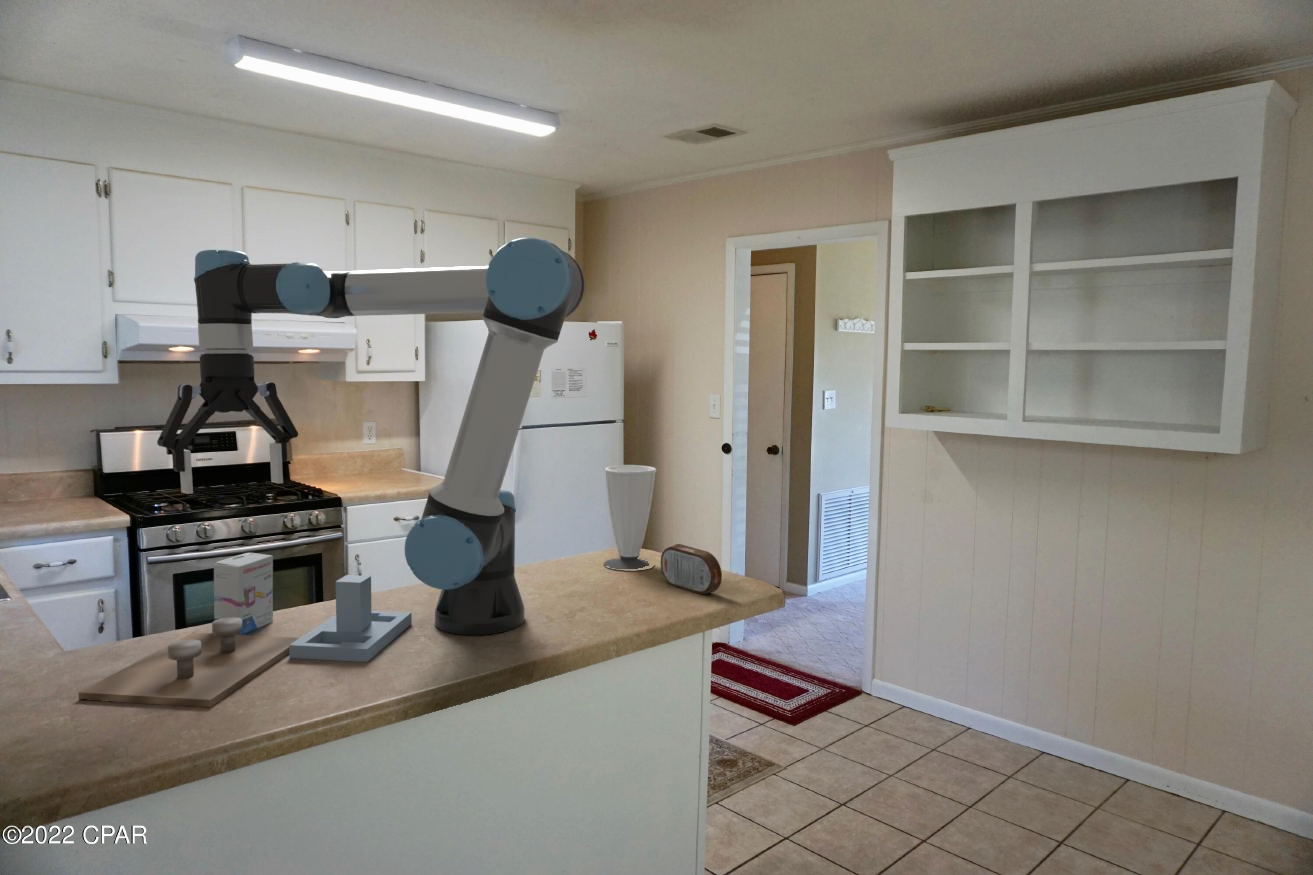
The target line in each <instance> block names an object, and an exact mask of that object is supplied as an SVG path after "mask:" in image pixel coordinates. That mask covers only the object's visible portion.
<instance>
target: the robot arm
mask: <svg viewBox="0 0 1313 875" xmlns="http://www.w3.org/2000/svg"><path fill="white" fill-rule="evenodd" d="M193 281H194V282H193V283H194V285H195V295H196V306H197V310H196V311H197V330H198V332H197V333H198V346H199V348H198V349H199V350H201V351H203V353H201V354H200V356H199V372H200V373H199V374H200V382H199V383H200V384H199V385H191V384H186V383H185V384H184V383H183V384H182V383H181V384H179V385H178V388H177V399H176V401H175V403H174V405H173V408H172V409H171V412H170V414H169V416H168V418H167V420H166V422H165V424H164V426H163V427H162V430H161V432H160V435H159V437H158V439H157V444H156V445H158V446H159V447H162V448H165V449H168V450H171V455H172V456H171V457H172V459H171V460H172V469H173V471H174V472H176V473H177V472H178V473H179V475H180V477H179V478H180V492H181V493H183V494H187V495H189V494H194V487H193V486H194V484H193V471H192V470H193V468H192V466H193V465H192V454H191V450H189V449H186V447H187V446H188V445H189V444H190V442H191V441H192V440H193V439H194V438H195V436H196V434H198V432H199V431H200V430H201V428H203V426H204V425H205V423H206V422H207V421H208V420H209V419H210V417H212V416H213V415H214V414H215V413H229V412H235V413H239V412H240V413H241V412H243V411H244V412H245V413H247V414H248V415H249V416H250V417H252V419H253V420H254V421H255V422H256V423H257V424H258V425H259V427H261V428H262V429H263V430H264V431H265V432H266V433H267V434H268V435H269V436H270V437H271V438H272V439H273V440H274V442H272V441H271V442H268V443H269V462H270V480H271V483H275V484H278V485H279V484H284V476H283V475H284V474H283V470H284V469H283V463H285V462H287V460H288V447H287V446H288V444H287V443H289V442H290V440H292V439H296V438H298V436H299V431H298V430H297V428H296V427H295V424H294V423H293V421H292V420H291V417H290V416H289V414H288V412H287V411H286V408H285V407H284V405H283V403H282V402H281V400H280V398H279V396H278V392H277V386H276V384H275V382H268V381H267V382H266V381H264V382H263V383H259V384H256V380H255V360H254V358H255V356H254V355H253V353H250V351H252V350H253V349H254V341H253V337H254V336H253V327H252V325H253V324H252V323H253V322H252V319H253V318H252V317H253V316H252V315H253V314H287V315H288V314H289V315H290V314H291V315H301V316H312V317H313V316H314V317H316V316H317V317H323V318H327V319H340V318H345V317H357V316H359V317H362V316H363V317H364V316H365V317H366V316H394V315H395V316H398V315H399V316H400V315H403V316H404V315H405V316H406V315H433V314H434V315H436V314H438V315H439V314H473V313H475V314H476V313H478V314H480V313H483V314H482V321H483V322H484V323H485V326H486V328H487V333H488V334H487V337H486V341H485V344H484V346H483V351H482V353H481V356H480V359H479V360H480V361H479V363H478V366H477V370H476V374H475V375H474V379H473V383H472V386H471V390H470V393H469V396H468V399H467V403H466V405H465V409H464V412H463V416H462V418H461V423H460V425H459V429H458V431H457V435H456V439H455V442H454V445H453V449H452V450H451V451H452V452H451V455H450V459H449V462H448V466H447V469H446V471H445V475H444V478H443V480H442V481H441V482H440V483H438V484H436V485H434V486H433V487H431V488H430V489H429V492H428V496H427V500H426V503H425V506H424V509H423V512H422V515H421V519H419V520H417V521H416V522H415V523H414V524H413V526H411V528H410V530H409V532H408V533H407V535H406V538H405V541H404V548H403V549H404V557H405V561H406V563H407V565H408V567H409V568H410V571H412V574H413V575H414V577H416V578H417V579H418V580H419V581H420V582H422V583H423V584H424V585H426V586H429V587H431V588H434V589H437V590H440V594H439V597H438V601H437V603H436V606H435V609H434V624H435V626H436V627H437V628H438V629H440V630H442V631H443V632H446V633H451V634H457V635H465V636H466V635H468V636H470V635H471V636H475V635H476V636H480V635H481V636H482V635H491V634H498V633H504V632H507V631H511V630H513V629H515V628H518V627H520V626H521V625H522V624H523V623H524V621H525V604H524V601H523V598H522V595H521V592H520V589H519V587H518V584H517V580H516V577H515V563H516V562H515V560H516V558H515V557H516V554H515V552H516V548H515V546H516V512H517V508H516V504H515V503H516V501H515V496H514V493H512V491H509V490H503V489H501V488H502V486H503V482H504V479H505V476H506V473H507V470H508V467H509V462H510V460H511V456H512V453H513V450H514V447H515V444H516V441H517V437H518V435H519V431H520V428H521V424H522V422H523V418H524V416H525V413H526V409H527V406H528V403H529V399H530V396H531V392H532V391H533V386H534V384H535V381H536V377H537V374H538V371H539V368H540V364H541V361H542V358H543V354H544V351H545V350H546V349H547V348H549V347H551V346H552V345H555V344H556V343H558V341H559V337H560V335H561V331H562V329H563V325H564V322H565V320H566V318H568V317H570V316H571V315H572V314H574V313H575V311H576V310H577V309H578V308H579V306H580V305H581V303H582V301H583V299H584V296H585V291H586V290H585V289H586V281H585V275H584V273H583V270H582V267H581V265H580V264H579V263H578V262H577V260H576V259H575V258H574V257H572V256H571V255H570V254H569V253H567V252H565V251H564V250H562V248H559V247H558V246H557V245H556V244H555V243H552V242H550V241H548V240H546V239H540V238H535V237H522V238H521V237H520V238H517V239H513V240H510V241H508V242H507V243H505V244H504V245H502V246H501V247H500V248H498V250H497V251H496V252H495V253H494V254H493V256H491V259H490V261H489V262H488V265H485V266H482V265H481V266H478V265H477V266H453V267H451V266H450V267H429V268H428V267H426V268H425V267H424V268H400V269H399V268H397V269H395V268H394V269H367V270H335V271H334V270H333V271H331V270H330V271H325V270H323V268H322V267H321V266H319V265H317V264H316V263H305V262H297V261H295V262H291V263H290V262H289V263H261V264H259V263H258V264H256V263H250V259H249V256H248V254H246V252H243V251H239V250H238V251H237V250H229V249H228V250H227V249H220V250H219V249H205V250H200V251H198V252H197V253H196V255H195V257H194V277H193ZM257 393H259V394H260V396H261V397H263V398H264V400H265V403H266V405H267V406H268V408H269V410H270V412H272V415H273V416H274V419H275V420H276V422H277V424H278V425H279V427H280V428H279V427H278V426H277V425H276V424H275V423H274V421H273V420H272V419H271V418H270V417H269V416H268V415H267V414H266V413H265V412H264V411H263V410H262V408H261V407H260V406H259V404H258V403H257V402H255V400H254V398H255V397H256V395H257ZM197 395H199V396H200V397H201V398H202V399H203V400H204V401H203V403H202V404H201V405H200V406H199V408H198V410H197V411H196V413H195V414H194V415H193V416H192V418H190V420H189V421H188V422H187V424H186V425H185V426H184V427H183V429H182V430H181V431H180V432H179V434H178V431H179V430H180V427H181V426H182V423H183V420H184V419H185V416H186V414H187V413H188V411H189V408H190V406H191V403H192V400H194V399H195V398H196V397H197Z"/></svg>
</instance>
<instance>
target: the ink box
mask: <svg viewBox="0 0 1313 875" xmlns="http://www.w3.org/2000/svg"><path fill="white" fill-rule="evenodd" d="M273 558H274V556H273V555H270V554H264V553H255V552H245V553H242V554H237V555H235V556H231V557H228V558H225V559H221V560H219V561H216V563H214V564H213V588H214V589H213V600H214V601H213V602H214V603H213V609H214V610H213V611H214V612H213V613H214V615H213V616H214V617H213V618H214V619H213V620H214V621H215V620H218V619H222V618H229V617H236V618H241V619H242V631H241V632H239V633H237V634H235V635H248V634H249V633H251V632H253V631H255V630H258V629H260V628H261V627H264V626H266V625H269V624H271V623H273V621H274V614H273V613H274V612H273V611H274V609H273V608H274V606H273V605H274V604H273V603H274V602H273V601H274V600H273V598H274V597H273V596H274V592H273V591H274V590H273V586H274V585H273V584H274V583H273V582H274V580H273V579H274V577H273V575H274V573H273V572H274V568H273V567H274V562H273V561H274V560H273Z"/></svg>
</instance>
